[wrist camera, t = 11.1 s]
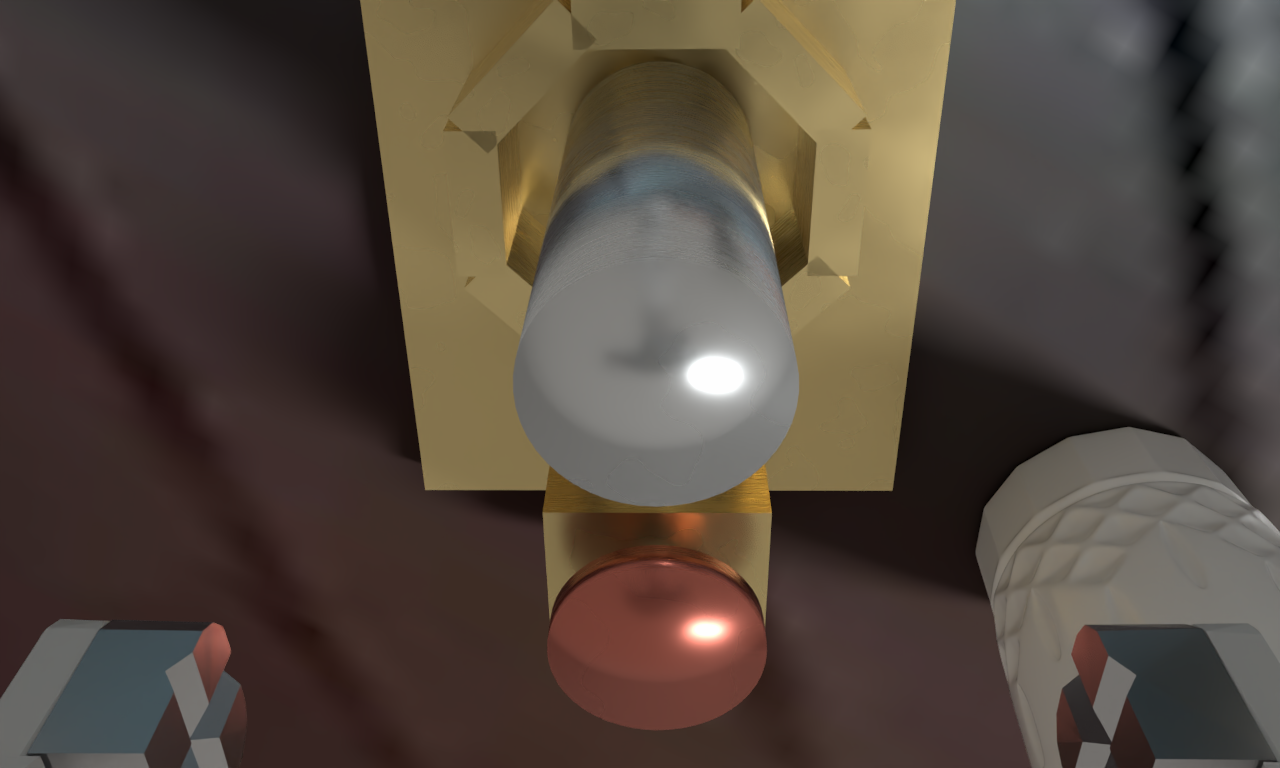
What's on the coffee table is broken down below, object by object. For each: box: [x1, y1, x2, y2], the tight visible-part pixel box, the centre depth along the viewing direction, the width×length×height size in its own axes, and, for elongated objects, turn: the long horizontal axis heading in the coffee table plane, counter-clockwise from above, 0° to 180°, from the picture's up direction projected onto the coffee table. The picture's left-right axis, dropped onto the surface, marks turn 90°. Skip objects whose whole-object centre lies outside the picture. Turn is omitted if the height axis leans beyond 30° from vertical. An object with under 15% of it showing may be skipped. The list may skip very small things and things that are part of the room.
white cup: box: [975, 427, 1280, 768], centre depth 27 cm, size 8×8×10 cm
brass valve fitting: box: [360, 0, 956, 730], centre depth 23 cm, size 18×12×8 cm
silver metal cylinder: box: [513, 61, 799, 507], centre depth 20 cm, size 4×4×10 cm
